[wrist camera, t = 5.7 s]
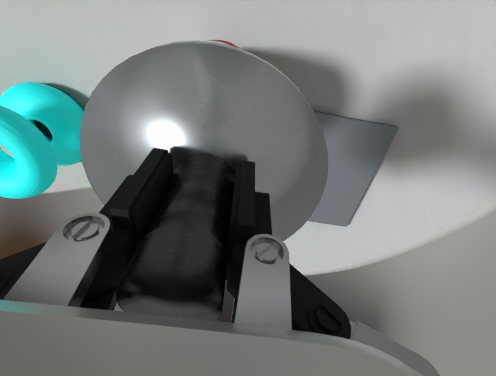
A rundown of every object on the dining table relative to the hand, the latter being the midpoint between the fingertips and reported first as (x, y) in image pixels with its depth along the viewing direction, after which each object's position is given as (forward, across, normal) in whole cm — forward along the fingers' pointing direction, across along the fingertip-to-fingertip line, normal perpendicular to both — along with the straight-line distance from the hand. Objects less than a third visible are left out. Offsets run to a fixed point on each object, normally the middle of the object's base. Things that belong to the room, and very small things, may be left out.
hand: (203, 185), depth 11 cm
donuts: (+21, +21, +8) cm, 31 cm away
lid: (+1, 0, 0) cm, 1 cm away
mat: (+20, -12, +10) cm, 26 cm away
